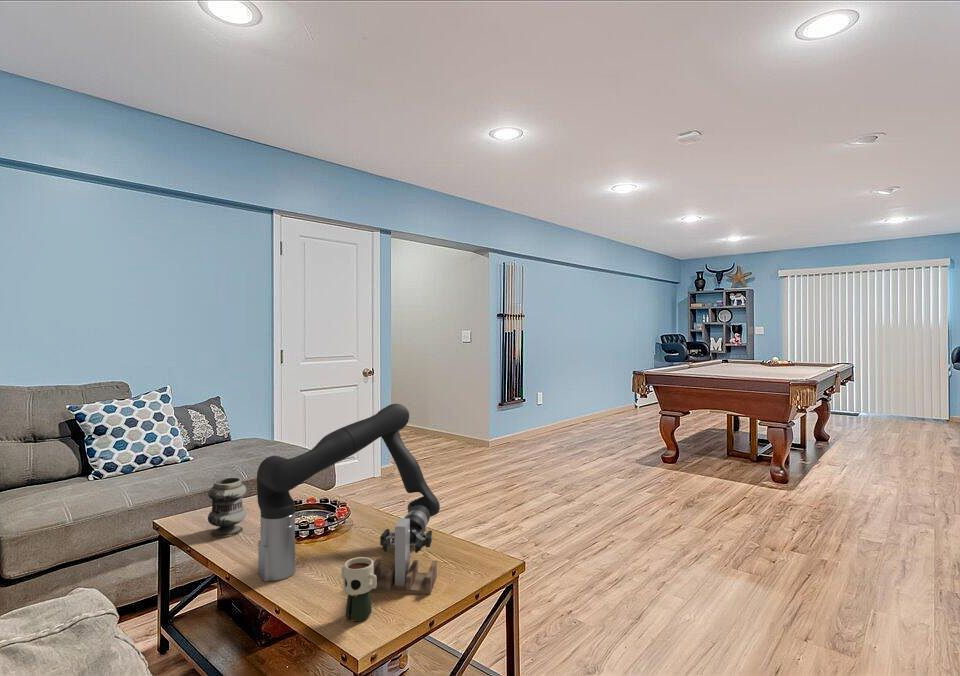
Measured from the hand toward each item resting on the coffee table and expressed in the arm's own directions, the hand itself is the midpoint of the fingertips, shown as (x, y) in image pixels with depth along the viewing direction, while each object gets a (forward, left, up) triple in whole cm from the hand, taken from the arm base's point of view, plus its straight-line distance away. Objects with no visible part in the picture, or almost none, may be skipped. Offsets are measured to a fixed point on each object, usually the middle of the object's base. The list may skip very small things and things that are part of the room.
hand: (400, 548), depth 142 cm
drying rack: (+1, +1, -10) cm, 11 cm away
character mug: (-15, -6, -11) cm, 20 cm away
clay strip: (+1, +1, -9) cm, 10 cm away
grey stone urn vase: (-28, +70, -11) cm, 76 cm away
